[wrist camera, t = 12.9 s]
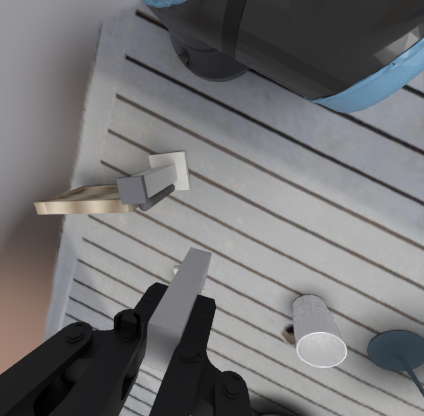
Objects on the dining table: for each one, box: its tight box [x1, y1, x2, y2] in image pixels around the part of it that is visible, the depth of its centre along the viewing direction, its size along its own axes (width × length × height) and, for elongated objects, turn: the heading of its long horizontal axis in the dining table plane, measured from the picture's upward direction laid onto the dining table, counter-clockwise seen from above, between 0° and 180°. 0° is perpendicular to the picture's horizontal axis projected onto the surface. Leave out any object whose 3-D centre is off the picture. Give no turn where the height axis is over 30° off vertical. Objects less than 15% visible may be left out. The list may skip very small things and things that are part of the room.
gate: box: [34, 184, 175, 214], centre depth 40 cm, size 20×2×11 cm, turn 95°
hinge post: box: [116, 151, 191, 205], centre depth 37 cm, size 7×7×15 cm
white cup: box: [292, 295, 347, 368], centre depth 43 cm, size 8×8×10 cm
